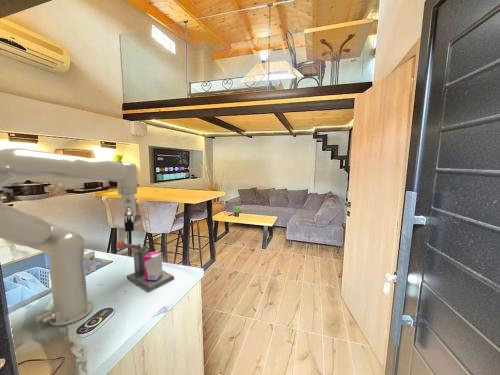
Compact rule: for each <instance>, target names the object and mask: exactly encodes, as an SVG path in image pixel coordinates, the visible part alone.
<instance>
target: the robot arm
mask: <svg viewBox="0 0 500 375" xmlns="http://www.w3.org/2000/svg"><path fill="white" fill-rule="evenodd" d="M14 177H26V178H28V177H29V178H45V179H61V180H65V179H66V180H103V181H114V182H115V181H116V182H117V195H118V196H119V195H120V200H121V201H120V202H121V210H122V216H123V218H124V230H125V233H126V232H133V231H134V230H135V229H134V217H136V216H137V212H136V211H137V210H136V208H137V207H136V195H138V177H137V164H135V163H134V162H120V161H115V160H107V159H99V158H92V157H84V156H78V155H71V154H64V153H56V152H50V151H49V152H48V151H43V150H34V149H28V148H18V147H17V148H16V147H15V148H4V149H0V185H2V184H4V183H6V182H7V181H9V180H11V179H13V178H14ZM0 239H2V240H6V241H8V242H10V243H11V244H14V245H17V246H21V247H27V248H30V249H33V250H36V251H40V252H42V253H45V254H48V255H49V256H50V262H49V278H50V285H51V293H52V294H51V296H52V302H53V304H52V306H51V307H50V309H49V310H48V311H47V312H45V313H43V314H39V315H37V316H35V321H36V323H40V322H42V323H43V324H44V323H47V322H49V324H50V325H51V326H54V327H60V326H67V325H71V324H73V323H75V322H79V320H82V319H83V318H84V319H85V317H86V316H88V315H89V314H90V313H91V312H92V311H93V310H94V302H92V301H91V300H88V291H87V290H88V289H87V281H86V275H85V268H84V251H85V249H86V242H85V239H84V237H83V236H82V235H81V234H80V233H78V232H77V231H74V230H71V229H68V228H63V227H60V226H58V225H55V224H53V223H51V222H48V221H46V220H45V219H43V218H41V217H39V216H36V215H33V214H30V213H26V212H23V211H22V210H18V209H16V208H14V207H12V206H10V205H8V204H5V203H4V202H3V201H1V199H0Z"/></svg>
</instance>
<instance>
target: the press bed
mask: <svg viewBox="0 0 500 375" xmlns="http://www.w3.org/2000/svg"><path fill="white" fill-rule="evenodd" d="M148 253H150V251H149V250H148V249H145V250H144V251H140V250H138V249H137V250H134V251H133V263H134V265H133V266H134V272H133V273H131V274H128V275H126V279H127V280H129V281H130V282H131V283H133V284H135V285H136V286H137V287H139V288H140V289H142V290H143V291H145V292H146V293H150V292H152V291H154V290H157V289H158V288H160V287H162V286H164V285H166V284H168V283H170V282H172V281H175V276H174V275H172V274H171V273H169V272H166V271H164V270H162V272H163V275H162V276H161V277H160V278H159V279H158V280H157V281H148V280H145V270H144V256H145V255H147V254H148Z"/></svg>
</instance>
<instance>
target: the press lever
mask: <svg viewBox="0 0 500 375" xmlns="http://www.w3.org/2000/svg"><path fill="white" fill-rule="evenodd" d="M115 246H116V249H118V250H123V249H124V248H125V249H133V250H137V251H138V250H140V251H144V250H147V249H146V246H145V245H143V244H140V243H138V244H133V243H132V244H131V243H126V242H125V241H123V240H119V241H118V242H116V244H115Z"/></svg>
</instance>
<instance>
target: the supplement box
mask: <svg viewBox="0 0 500 375" xmlns="http://www.w3.org/2000/svg"><path fill="white" fill-rule="evenodd" d="M162 256H163V254H162V252H160V251H159V252H158V251H149V253H148V254H147V255H145V256H144V270H145V280H148V281H157V280H158V279H159V278H160V277H161V276H162V275H163V272H162V271H163V259H162V258H163V257H162Z"/></svg>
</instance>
